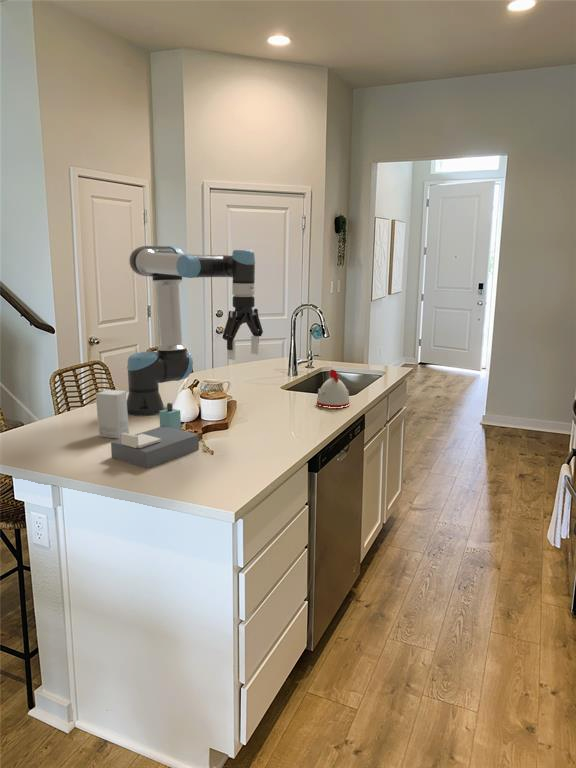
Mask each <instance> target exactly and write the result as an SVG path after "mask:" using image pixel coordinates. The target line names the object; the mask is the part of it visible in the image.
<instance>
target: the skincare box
mask: <svg viewBox="0 0 576 768" xmlns="http://www.w3.org/2000/svg"><path fill="white" fill-rule="evenodd" d="M95 401H96V411H97V412H96V413H97V421H98V422H97V423H98V434H99V435H98V436H99V437H100V438H108V439H110V438H111V439H117V440H119V439H121V433H124V432H125V433H128V434H130V430H129V429H130V428H129V414H128V413H127V391H126V390H114V389H105V390H102V391H100V392H97V393H95Z"/></svg>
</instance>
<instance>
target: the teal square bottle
mask: <svg viewBox="0 0 576 768" xmlns="http://www.w3.org/2000/svg"><path fill="white" fill-rule="evenodd" d="M158 414H159V427H162V426H166V427H170V428H174V429H178V430H182V428H181V427H182V426H181V424H182V423H181V410H179V409H177V408H173V403H172V402H168V403H166V409H165V408H164V410H161V411H159V413H158Z"/></svg>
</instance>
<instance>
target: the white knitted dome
mask: <svg viewBox="0 0 576 768" xmlns="http://www.w3.org/2000/svg"><path fill="white" fill-rule="evenodd" d="M339 378H340V377H338V373H337V370H335V369H330V371H329V378H328V379H327V380H325V382H324V383H323V384H322V385H321V387H320V388H318V390H317V398H316V405H317V404H318V405H321V406H328V407H329V406H330V407H341V406H346V405H348V404H349V405H350V396H349V395H350V392H349V389H347V387H346V385H345V384H344V383H343V381H342V380H340V379H339ZM318 405H317V406H318Z"/></svg>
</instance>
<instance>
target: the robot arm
mask: <svg viewBox="0 0 576 768" xmlns="http://www.w3.org/2000/svg"><path fill="white" fill-rule="evenodd" d="M255 257H256V256H255V252H254V250H253V249H234V250H233V251H232V255H225V254H216V255H215V254H187V253H184V252H183V250H181V249H180V247H175V246H169V245H168V246H160V245H159V246H157V245H155V246H154V245H152V246H151V245H144V246H139V247H137V248H135V249H134V250H133V251H132V252H131V254H130V256H129V259H128V260H129V261H128V262H129V265H130V268H131V269H132V271H133V272H134V273H135V274H137V275H139V276H143V277H152V282H153V283H154V284H155V285H156V291H157V292H156V293H157V304H158V319H159V336H160V345H159V346H158V348H157V352H156V351H153V350H151V351H150V350H147V351H140V352H135V353H133V354H131V355H130V356H129V357H128V358H127V366H126V369H127V381H128V385H127V386H128V395H127V397H126V400H127V413H128V415H130V416H131V415H132V416H151V415H153V416H154V415H157V414H160V413H159V411H161V410H165V407H164V405H165V404H164V402H163V401H162V397H161V393H160V390H159V389H160V388H159V384H161V383H162V384H163V383H169V382H179V381H182V380H185V379H187V378H188V377H189V376H190V375H192V371H193V367H194V360H193V357H192V355H191V353H190V352H189V351H187V347H186V346H185V345H184V344H183V338H182V337H183V335H182V320H181V319H182V316H181V304H180V303H181V301H180V287H179V285H180V284H181V282H182V281H183V278H188V279H196V278H232V292H231V293H232V295H233V297H232V307H233V308H234V310H228V316H227V321H226V324H225V328H224V331H223V335H222V339H224V341H226V350H227V360H233V361H235V360H236V340H234V339H235V337H236V336H237V333H238V331H239V329H240V328H241V326H242V325H243V324H246V325H247V327H248V328H249V330H250V332H251V336H250V337H251V338H250V354H251V355H256V356H257V355H259V346H260V345H259V344H260V343H259V342H260V337H262V335H263V332H264V331H263V328H262V324H261V320H260V317H259V309H258V308H254V307H255V296H254V295H255V280H256V278H255V274H256V273H255V272H256V259H255Z"/></svg>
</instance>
